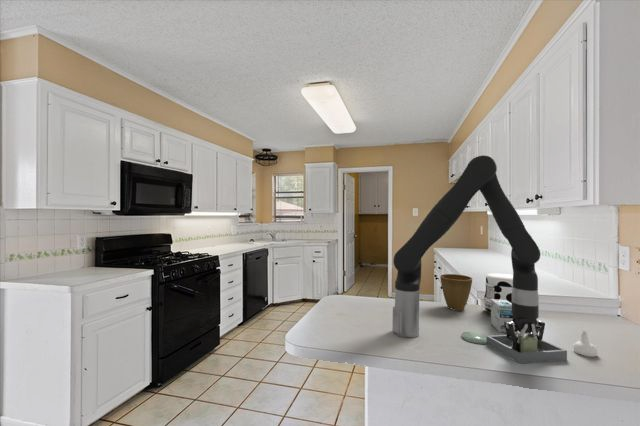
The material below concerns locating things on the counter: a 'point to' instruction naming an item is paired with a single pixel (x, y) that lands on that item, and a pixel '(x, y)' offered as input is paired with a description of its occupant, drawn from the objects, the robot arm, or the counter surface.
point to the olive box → (527, 344)
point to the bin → (527, 357)
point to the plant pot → (456, 290)
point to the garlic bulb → (585, 346)
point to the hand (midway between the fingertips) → (524, 352)
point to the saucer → (475, 337)
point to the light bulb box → (501, 313)
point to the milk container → (498, 289)
